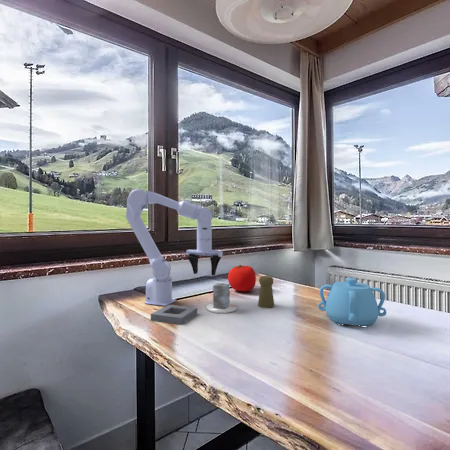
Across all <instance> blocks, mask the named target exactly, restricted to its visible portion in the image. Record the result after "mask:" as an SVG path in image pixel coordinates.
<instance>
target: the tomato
mask: <svg viewBox="0 0 450 450" xmlns="http://www.w3.org/2000/svg"><path fill="white" fill-rule="evenodd" d="M227 280H228V284H230V288H232V289H233V290H234V291H235V290H236V291H239V292H251V291H252V290H254V288H255V286H256V283H257V276H256V272H255V269H254V268H253V267H252V266H249V265H241V264H239V265H236V266H233V267H232V268H231V269H230V270H229V272H228V276H227Z"/></svg>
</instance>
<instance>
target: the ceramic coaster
mask: <svg viewBox="0 0 450 450" xmlns="http://www.w3.org/2000/svg"><path fill="white" fill-rule="evenodd" d="M205 310H207V312H209V313H212V314H229V313H233V312H236V311H237V310H238V306H237V305H236V304H235V303H231V302H230V306H229V307H227V308H226V309H218V308H213V303H209V304H207V305H206V307H205Z"/></svg>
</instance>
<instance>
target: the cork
mask: <svg viewBox="0 0 450 450" xmlns="http://www.w3.org/2000/svg"><path fill="white" fill-rule="evenodd" d="M258 284H259V285H260V287H259V295H258V302H257V307H259V308H262V309H272V308H275V300H274V292H273V284H274V278H273V277H272V276H270V275H261V276H260V277H259V280H258Z"/></svg>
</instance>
